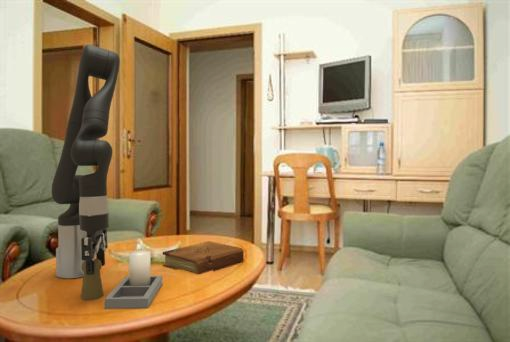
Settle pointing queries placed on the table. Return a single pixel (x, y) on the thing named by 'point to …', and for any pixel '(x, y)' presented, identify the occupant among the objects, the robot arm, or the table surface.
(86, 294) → the cork
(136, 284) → the cylinder
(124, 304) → the tray
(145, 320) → the table surface
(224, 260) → the diary
